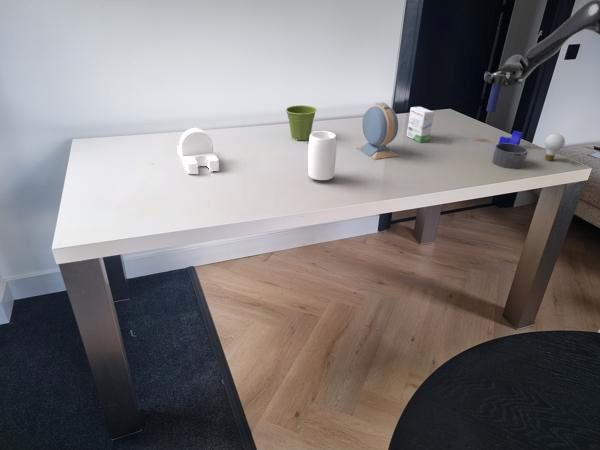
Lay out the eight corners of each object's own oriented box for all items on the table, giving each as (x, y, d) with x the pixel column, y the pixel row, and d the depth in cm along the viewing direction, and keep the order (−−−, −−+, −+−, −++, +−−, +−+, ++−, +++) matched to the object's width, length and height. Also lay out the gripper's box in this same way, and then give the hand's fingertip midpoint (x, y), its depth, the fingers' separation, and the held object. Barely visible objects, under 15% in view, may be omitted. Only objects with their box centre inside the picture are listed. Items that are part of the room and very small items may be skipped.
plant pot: (290, 132, 174) (290, 104, 168) (318, 135, 171) (320, 106, 166) (281, 141, 164) (281, 112, 159) (311, 144, 162) (312, 115, 156)
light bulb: (548, 157, 155) (556, 130, 150) (561, 163, 150) (571, 135, 145) (535, 159, 153) (544, 132, 148) (548, 165, 148) (558, 137, 143)
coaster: (493, 140, 170) (494, 139, 169) (493, 147, 163) (493, 146, 163) (472, 138, 172) (472, 137, 172) (471, 144, 166) (471, 143, 166)
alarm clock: (399, 157, 152) (406, 107, 143) (376, 160, 149) (382, 109, 140) (377, 144, 163) (382, 97, 155) (355, 147, 160) (359, 99, 151)
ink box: (429, 141, 168) (435, 111, 162) (419, 142, 166) (424, 112, 160) (415, 134, 174) (420, 105, 168) (405, 136, 172) (410, 107, 166)
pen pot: (522, 162, 150) (527, 145, 147) (523, 172, 142) (528, 155, 139) (492, 157, 154) (496, 141, 151) (491, 167, 146) (495, 150, 143)
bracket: (177, 155, 149) (173, 123, 144) (206, 151, 153) (203, 120, 147) (188, 175, 134) (184, 140, 129) (220, 171, 138) (217, 137, 132)
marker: (497, 111, 159) (506, 75, 153) (493, 113, 157) (502, 76, 151) (488, 109, 161) (497, 73, 155) (484, 111, 159) (492, 74, 153)
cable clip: (506, 144, 166) (510, 129, 163) (518, 147, 163) (522, 132, 160) (492, 151, 159) (496, 136, 156) (504, 155, 156) (508, 139, 153)
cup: (316, 171, 140) (318, 128, 132) (339, 177, 136) (342, 133, 129) (302, 179, 133) (303, 135, 126) (325, 186, 130) (328, 141, 122)
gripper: (491, 61, 165) (478, 68, 153) (530, 66, 158) (520, 73, 146) (486, 81, 169) (473, 89, 157) (525, 87, 162) (514, 95, 150)
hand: (496, 81), depth 152 cm, fingers closed on marker, 3 cm apart
